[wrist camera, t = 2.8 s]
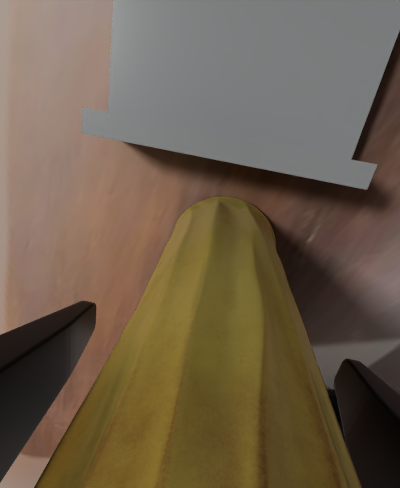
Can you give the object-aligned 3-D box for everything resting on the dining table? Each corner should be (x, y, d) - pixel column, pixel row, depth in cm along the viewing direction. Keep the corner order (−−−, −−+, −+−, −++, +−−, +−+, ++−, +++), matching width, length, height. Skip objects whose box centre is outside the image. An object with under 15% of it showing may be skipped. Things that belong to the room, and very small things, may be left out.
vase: (151, 232, 16) (-207, 649, 3) (238, 173, 14) (330, 539, 1) (209, 307, 18) (143, 812, 4) (294, 261, 16) (618, 869, 3)
